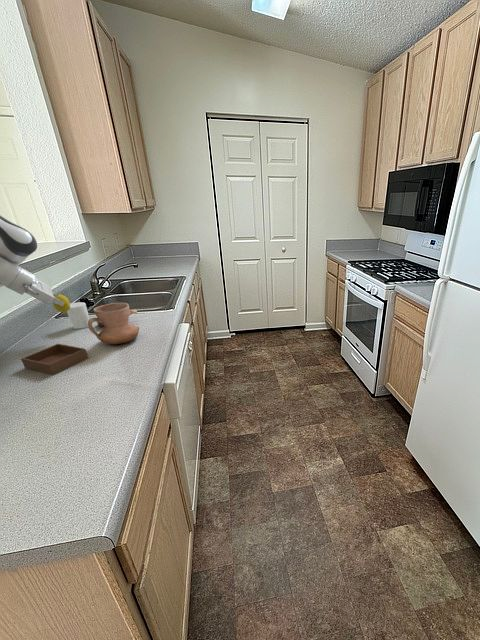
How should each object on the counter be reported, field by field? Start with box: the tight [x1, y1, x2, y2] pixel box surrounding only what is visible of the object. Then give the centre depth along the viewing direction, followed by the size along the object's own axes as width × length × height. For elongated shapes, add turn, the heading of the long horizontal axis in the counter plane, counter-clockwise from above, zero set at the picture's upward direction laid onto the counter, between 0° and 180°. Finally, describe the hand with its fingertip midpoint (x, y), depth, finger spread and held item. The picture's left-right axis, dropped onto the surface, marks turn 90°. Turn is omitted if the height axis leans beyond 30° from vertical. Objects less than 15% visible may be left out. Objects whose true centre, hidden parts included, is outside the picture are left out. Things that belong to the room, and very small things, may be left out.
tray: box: [20, 343, 89, 376], centre depth 117 cm, size 14×13×4 cm
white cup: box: [66, 301, 90, 330], centre depth 148 cm, size 8×8×10 cm
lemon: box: [52, 293, 71, 314], centre depth 134 cm, size 6×6×8 cm
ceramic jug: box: [87, 302, 140, 345], centre depth 131 cm, size 18×14×14 cm
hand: (63, 302), depth 134 cm, fingers closed on lemon, 5 cm apart
